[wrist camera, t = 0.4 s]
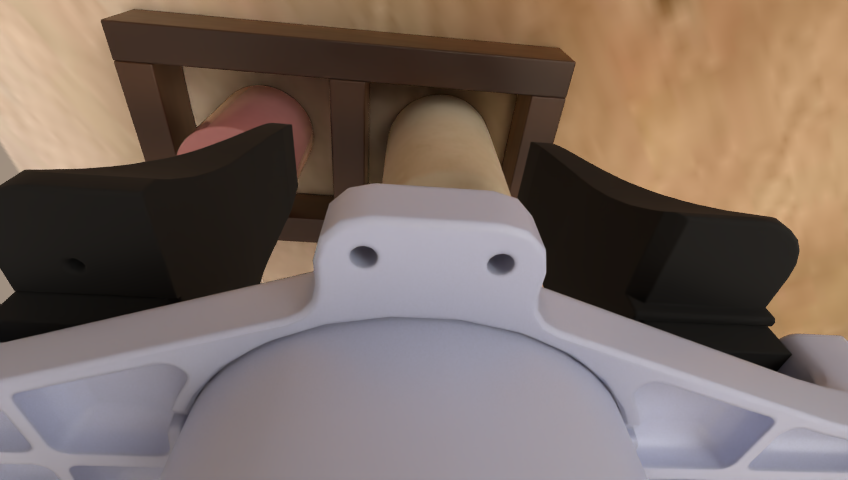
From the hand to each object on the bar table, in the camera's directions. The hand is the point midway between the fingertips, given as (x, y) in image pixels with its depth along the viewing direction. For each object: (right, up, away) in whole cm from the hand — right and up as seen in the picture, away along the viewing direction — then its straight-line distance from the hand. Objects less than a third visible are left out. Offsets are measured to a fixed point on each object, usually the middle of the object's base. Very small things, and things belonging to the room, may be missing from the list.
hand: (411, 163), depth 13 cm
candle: (+1, +3, +11) cm, 11 cm away
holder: (-3, +3, +10) cm, 11 cm away
